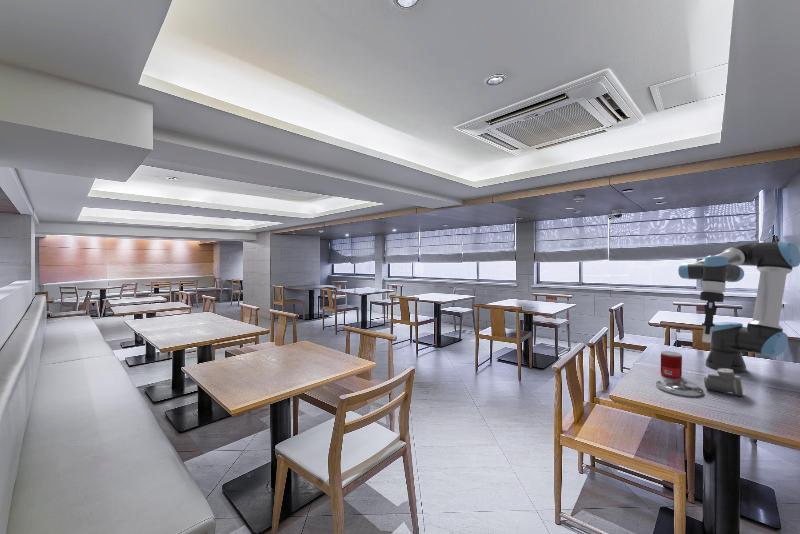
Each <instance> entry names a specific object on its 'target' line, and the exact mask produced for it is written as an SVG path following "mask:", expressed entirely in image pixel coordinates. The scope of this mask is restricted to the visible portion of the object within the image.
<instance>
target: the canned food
mask: <svg viewBox="0 0 800 534" xmlns="http://www.w3.org/2000/svg"><path fill="white" fill-rule="evenodd" d="M682 368H683V354H681V353H680V352H676V351H670V350H669V351H667V350H663V351H661V353H660V374H661V376H662V377H664V378H667V379H673V380H674V379H675V380H676V379H682V375H683V374H682V370H683V369H682Z"/></svg>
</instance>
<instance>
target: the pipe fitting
mask: <svg viewBox="0 0 800 534" xmlns="http://www.w3.org/2000/svg"><path fill="white" fill-rule="evenodd" d="M716 371H717V373H715V372H710V373H708V374H707V375H705V377H704V379H703V381H704V387H705V389H706V390H708V391H714V392H721V393H722V392H723V393H732V394H733V395H735V396H736V397H744V389H745V388H744V383H743V380H742V376H740V375H734V373H735V372H734V371H733V370H731V369H727V368H720V369H716Z"/></svg>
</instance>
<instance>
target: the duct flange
mask: <svg viewBox="0 0 800 534" xmlns="http://www.w3.org/2000/svg"><path fill="white" fill-rule="evenodd" d="M655 387H656V388H657V389H658V390H660V391H662V392H665V393H667V394H670V395H676V396H679V397H680V396H681V397H688V398H699V397H703V396H704V390H703V388H701V387H699V386H697V385H695V384H692V383H688V382H686V381H680V380H674V379H673V380H672V379H662V380H656V382H655Z"/></svg>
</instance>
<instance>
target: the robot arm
mask: <svg viewBox="0 0 800 534" xmlns="http://www.w3.org/2000/svg"><path fill="white" fill-rule="evenodd" d="M741 266H748V267H750V266H751V267H752V266H753V267H756V270H757V271H758V272H759V279H758V280H759V281H758V283H757V284H758V286H757V291H756V298H755V304H754V310H753V317H752V320H751V321H750V322H748V323H747V325H746V326H747V327H746V326H744V324H743V323H741V322H731V321H725V322H723V321H721V322H719V321H718V322H714V316H715V315H716V312H717V309H718V306H716V303H724V300H725V299H724V297H725V294H724V293H725V292H726V282H727V283H737V282H740V281H741V280H743V278H744V276H745V271H744V269H743V268H742V267H741ZM799 266H800V249H799V247H798V246H797V244H795V243H794V242H791V241H768V242H767V241H766V242H765V241H764V242H746V243H743V244H737V245H735V246H732V247H729V248H726V249H724V250H723V251H722V252H721V253H719V254H718V253H717V254H716V255H708V256H705V258H704V259H701V260H699V261H696V262H692V263H691V262H687V263H681V264H680V265H679V267H678V269H677V270H678V271H677V272H678V275H679V278H681V279H686V280H699V281H700V280H701V281H702V282H701V283H699V286H700V289H701V292H700V296H699V299H700V300H701V301H705V302H706V304H704V308H703V309H704V315H705V316H704V322H703V323H701V326H702V327H703V328H702V339H701V342H703V343H706V344H707V343H708V344H710V350H709V353H708V354H707V357H706V359H705V365H706V367H708V368H711V369H714V370H717V369H720V368H727V369H731V370H733V371H734V373H745V372H746V371H747V364H746V362H745V360H744V357H743V355H742V353H743V352H747V353H753V354H757V355H761V356H768V357H779V356H781V355H783V354H784V352H785V350H786V349H787V347H788V342H789V339H788V338H789V336H788V335H787V333H785V331H784V329H783V327H782V326H780V319H781V313H782V307H783V299H784V295H785V294H784V293H785V289H786V287H785V285H786V281H787V275H788V274H790V273H792V272H793V268H796V267H799ZM783 331H784V332H783Z"/></svg>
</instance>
